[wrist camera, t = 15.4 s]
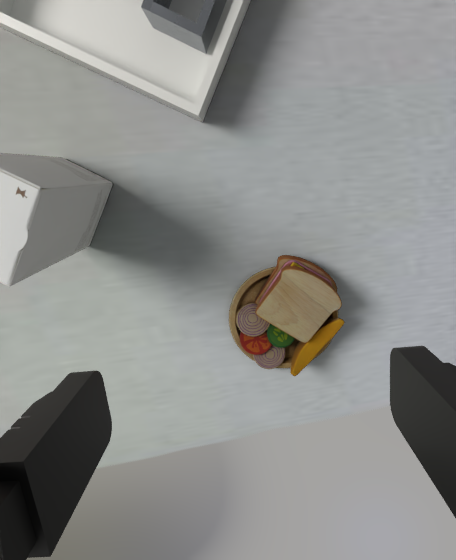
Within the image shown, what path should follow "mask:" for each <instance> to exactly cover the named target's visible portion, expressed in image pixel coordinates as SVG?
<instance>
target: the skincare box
mask: <svg viewBox="0 0 456 560" xmlns="http://www.w3.org/2000/svg"><path fill="white" fill-rule="evenodd" d="M112 185H113V184H112V182H110V181H108V180H106V179H104V178H103V177H101V176H99V175H97V174H95V173H93V172H90V171H88V170H86V169H84V168H82V167H80V166H78V165H76V164H74V163H72V162H70V161H68V160H66V159H64V158H62V157H49V156H35V155H21V154H8V153H0V282H1V283H3V284H5V285H7V286H12V285H14V284H16V283H17V282H19V281H21V280H23V279H25V278H27V277H29V276H31V275H33V274H35V273H37V272H39V271H41V270H43V269H45V268H47V267H49V266H51V265H53V264H55V263H57V262H59V261H61V260H63V259H65V258H67V257H69V256H71V255H73V254H75V253H77V252H79V251H81V250H83V249H85V248H87V247H89V245H90V243H91V240H92V238H93V235H94V233H95V230H96V228H97V225H98V222H99V220H100V217H101V215H102V212H103V209H104V207H105V204H106V202H107V199H108V196H109V194H110V191H111V188H112Z"/></svg>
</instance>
